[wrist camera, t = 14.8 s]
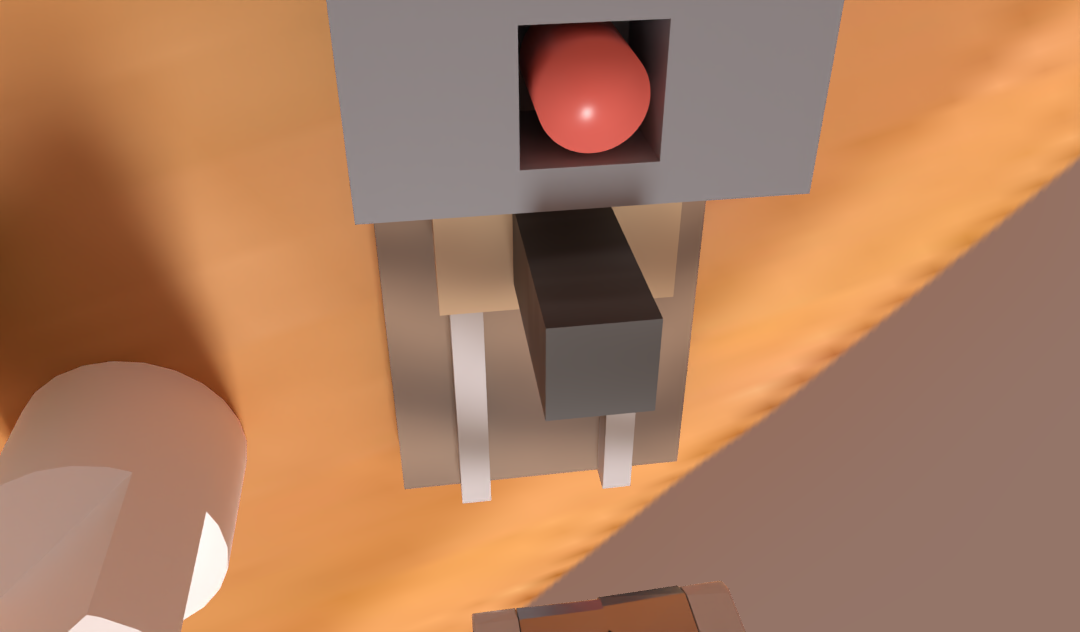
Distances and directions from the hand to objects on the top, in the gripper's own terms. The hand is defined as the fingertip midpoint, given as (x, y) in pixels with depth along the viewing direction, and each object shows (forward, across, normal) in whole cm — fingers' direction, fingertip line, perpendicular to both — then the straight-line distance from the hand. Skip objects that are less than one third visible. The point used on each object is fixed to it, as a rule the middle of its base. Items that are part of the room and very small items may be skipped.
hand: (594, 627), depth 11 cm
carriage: (+20, -3, +6) cm, 21 cm away
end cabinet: (+24, -3, -1) cm, 24 cm away
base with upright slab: (+24, +14, +17) cm, 33 cm away
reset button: (+17, -3, -1) cm, 17 cm away
